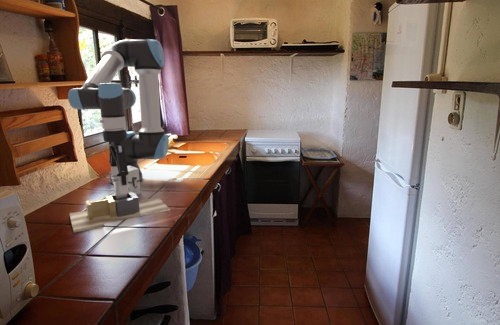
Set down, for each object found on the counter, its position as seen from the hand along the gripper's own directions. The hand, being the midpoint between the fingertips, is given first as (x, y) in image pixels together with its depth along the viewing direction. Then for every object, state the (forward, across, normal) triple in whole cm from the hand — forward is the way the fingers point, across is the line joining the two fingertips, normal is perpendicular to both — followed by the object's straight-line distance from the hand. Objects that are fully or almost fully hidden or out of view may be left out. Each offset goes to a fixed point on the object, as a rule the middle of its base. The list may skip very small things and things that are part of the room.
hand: (120, 188), depth 121 cm
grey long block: (+9, 0, 0) cm, 9 cm away
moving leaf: (+9, 0, -7) cm, 11 cm away
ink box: (+10, -20, +7) cm, 24 cm away
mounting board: (+10, 0, 0) cm, 10 cm away
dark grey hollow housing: (+9, 0, +1) cm, 9 cm away
